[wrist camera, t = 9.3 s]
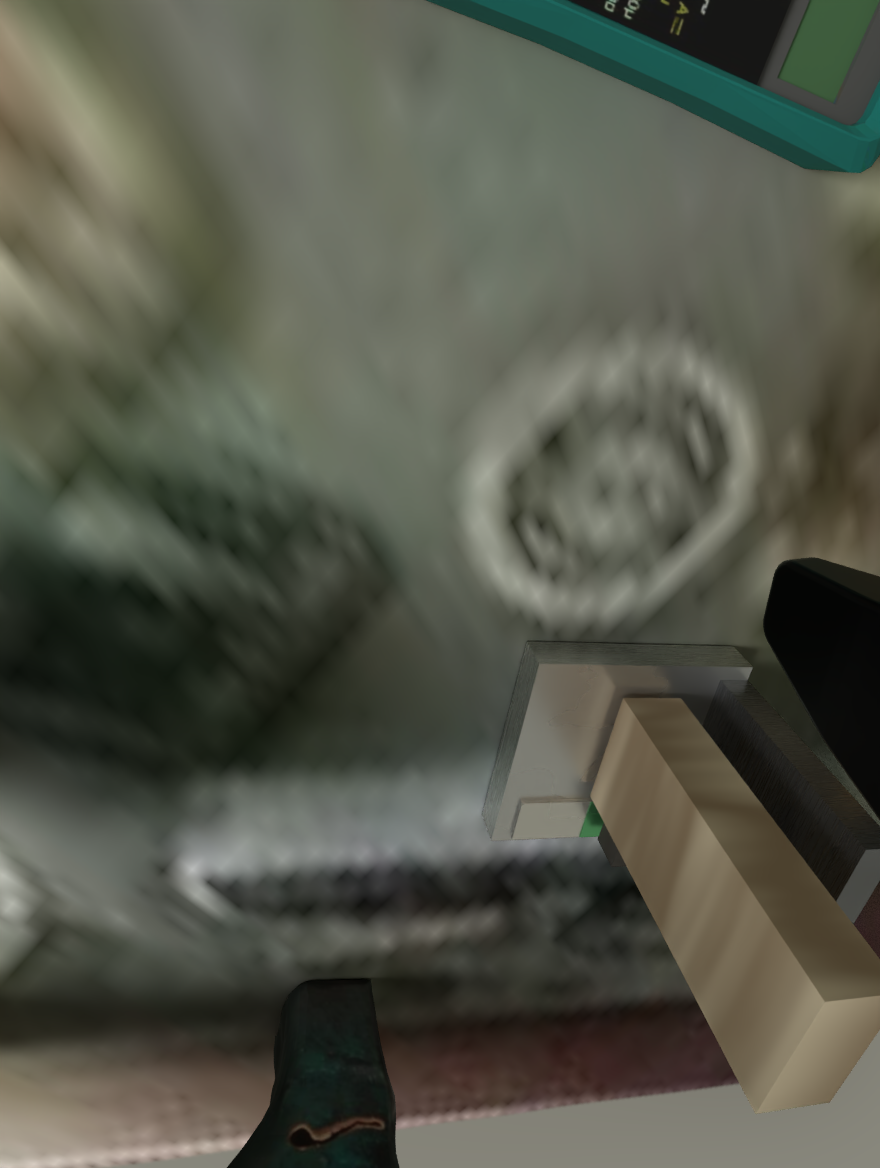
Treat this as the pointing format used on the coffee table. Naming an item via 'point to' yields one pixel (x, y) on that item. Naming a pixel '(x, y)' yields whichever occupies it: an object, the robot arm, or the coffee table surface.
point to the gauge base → (725, 710)
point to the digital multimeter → (729, 63)
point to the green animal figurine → (327, 1085)
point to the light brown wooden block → (737, 909)
